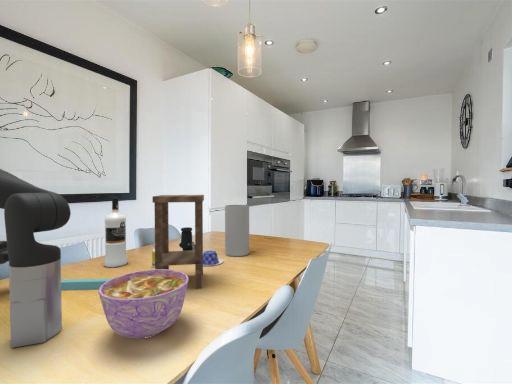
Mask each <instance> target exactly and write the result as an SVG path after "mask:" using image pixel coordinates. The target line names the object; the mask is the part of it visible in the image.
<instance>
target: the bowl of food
mask: <svg viewBox="0 0 512 384" xmlns="http://www.w3.org/2000/svg"><path fill="white" fill-rule="evenodd" d="M112 278H113V279H111V280H109V281H107V282H105V283H104V284H103V285H101V286H100V288H99V289H98V296H99V299H100V302H101V305H102V310H103V312H104V313H103V314H104V316H105V318H106V322H107V323H108V326H109V327H110V328H111V330H112V331H113V332H114V333H116V334H117V335H118V336H119V335H120V336H121V337H125V338H127V337H128V338H133V339H137V338H142V339H146V338H145V337H148V338H151V337H150V336H152V337H154V336H157V335H158V334H160V333H161V332H162V331H163V332H164V331H165V330H167V328H170V327H171V326H172V325H174V323H176V321H177V320H178V318H179V317H180V314H181V312H182V309H183V307H184V306H183V305H184V302H185V298H186V295H187V294H186V293H187V289H188V285H189V280H190V278H189V277H188V274H186V273H184V272H183V271H179V270H174V269H169V270H166V269H156V270H155V269H147V270H138V271H133V272H129V273H128V272H127V273H125V274H121V275H119V276H116V277H112ZM156 334H157V335H156ZM153 335H154V336H153Z"/></svg>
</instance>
